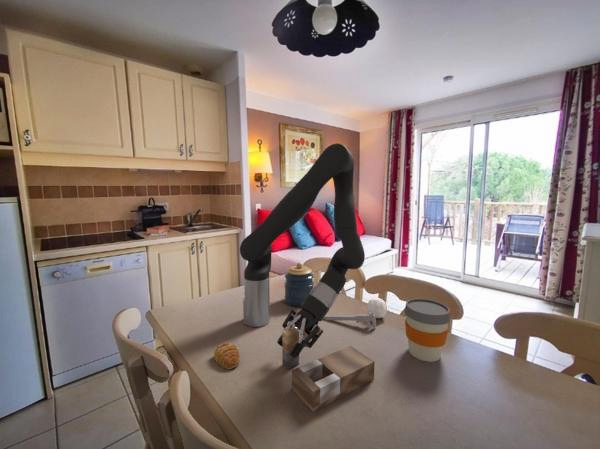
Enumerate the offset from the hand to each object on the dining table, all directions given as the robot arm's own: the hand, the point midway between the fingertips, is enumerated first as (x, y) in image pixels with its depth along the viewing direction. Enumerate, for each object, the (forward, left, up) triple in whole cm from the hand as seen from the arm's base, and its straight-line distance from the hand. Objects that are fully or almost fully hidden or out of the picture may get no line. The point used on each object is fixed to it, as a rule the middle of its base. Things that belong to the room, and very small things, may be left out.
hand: (285, 350), depth 79 cm
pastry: (-17, +3, -5) cm, 18 cm away
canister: (+2, +46, -5) cm, 47 cm away
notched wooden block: (+13, -7, -5) cm, 15 cm away
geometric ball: (+33, +32, -5) cm, 47 cm away
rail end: (+1, +1, -5) cm, 5 cm away
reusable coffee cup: (+42, +8, -5) cm, 43 cm away
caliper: (+21, +27, -5) cm, 34 cm away
